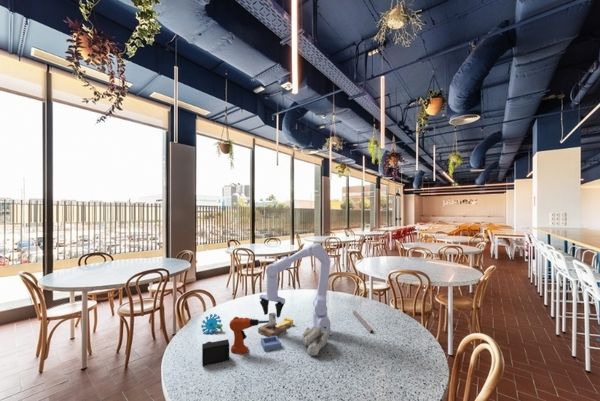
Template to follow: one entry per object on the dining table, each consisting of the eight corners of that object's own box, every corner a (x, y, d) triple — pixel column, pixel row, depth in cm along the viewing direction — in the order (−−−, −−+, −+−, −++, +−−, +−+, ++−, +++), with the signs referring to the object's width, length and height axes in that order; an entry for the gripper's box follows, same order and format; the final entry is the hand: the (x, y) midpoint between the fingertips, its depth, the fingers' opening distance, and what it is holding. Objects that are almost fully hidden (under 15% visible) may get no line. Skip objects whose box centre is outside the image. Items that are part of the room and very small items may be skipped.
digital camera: (228, 354, 113) (228, 337, 114) (229, 361, 108) (229, 343, 108) (202, 359, 109) (202, 342, 110) (202, 366, 104) (202, 348, 105)
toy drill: (270, 353, 111) (266, 316, 112) (229, 355, 114) (225, 319, 115) (274, 347, 116) (269, 312, 117) (234, 349, 119) (230, 315, 120)
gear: (196, 330, 133) (207, 311, 140) (201, 334, 137) (210, 316, 144) (216, 335, 130) (225, 316, 137) (219, 340, 134) (228, 321, 141)
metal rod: (370, 334, 131) (370, 330, 132) (352, 313, 158) (352, 310, 158) (373, 334, 132) (373, 329, 132) (355, 313, 159) (355, 310, 159)
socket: (292, 328, 138) (292, 323, 138) (272, 338, 127) (272, 333, 127) (279, 323, 145) (279, 318, 145) (258, 332, 133) (258, 327, 133)
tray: (281, 347, 118) (281, 342, 118) (264, 351, 115) (264, 345, 116) (276, 340, 125) (276, 335, 125) (260, 343, 123) (260, 338, 123)
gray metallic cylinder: (276, 333, 133) (276, 314, 133) (269, 334, 132) (269, 315, 132) (274, 330, 136) (274, 312, 137) (268, 331, 135) (268, 313, 135)
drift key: (293, 325, 142) (293, 319, 142) (279, 331, 134) (279, 326, 134) (286, 322, 146) (286, 317, 146) (272, 328, 138) (272, 323, 138)
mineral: (335, 335, 124) (325, 315, 126) (330, 352, 108) (318, 328, 110) (313, 346, 126) (303, 326, 128) (304, 364, 110) (293, 341, 112)
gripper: (288, 288, 135) (288, 315, 134) (265, 284, 142) (265, 310, 141) (280, 291, 129) (280, 320, 128) (257, 287, 136) (257, 314, 135)
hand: (272, 315), depth 134 cm, fingers open, 7 cm apart
